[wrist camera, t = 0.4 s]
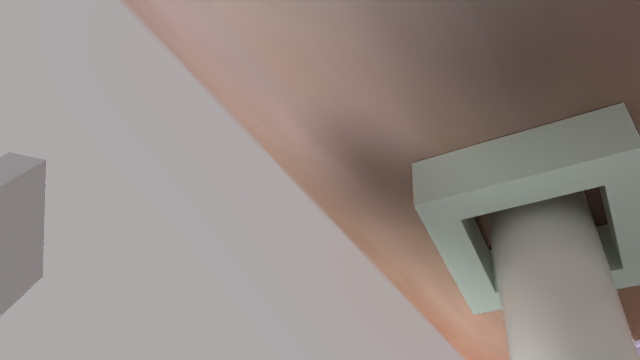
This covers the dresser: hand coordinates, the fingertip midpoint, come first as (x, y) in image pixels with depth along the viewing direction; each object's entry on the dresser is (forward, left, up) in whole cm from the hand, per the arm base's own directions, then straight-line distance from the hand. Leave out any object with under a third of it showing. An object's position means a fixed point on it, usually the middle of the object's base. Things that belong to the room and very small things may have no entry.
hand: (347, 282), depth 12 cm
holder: (+11, +11, -15) cm, 22 cm away
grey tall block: (+11, +11, -15) cm, 22 cm away
